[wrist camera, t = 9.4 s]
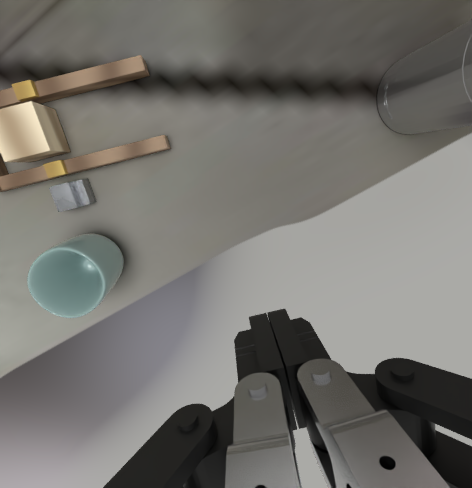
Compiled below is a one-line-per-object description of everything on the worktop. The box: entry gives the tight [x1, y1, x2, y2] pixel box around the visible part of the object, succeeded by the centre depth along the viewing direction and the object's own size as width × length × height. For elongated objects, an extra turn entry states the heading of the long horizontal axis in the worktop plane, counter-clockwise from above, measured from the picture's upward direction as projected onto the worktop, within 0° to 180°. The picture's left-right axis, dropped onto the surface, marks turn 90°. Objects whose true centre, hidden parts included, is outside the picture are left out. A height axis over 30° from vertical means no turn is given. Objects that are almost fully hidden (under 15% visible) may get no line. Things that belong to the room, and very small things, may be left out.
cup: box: [27, 233, 124, 318], centre depth 37 cm, size 8×8×10 cm
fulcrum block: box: [49, 179, 96, 212], centre depth 38 cm, size 4×3×4 cm
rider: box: [0, 101, 70, 162], centre depth 36 cm, size 5×5×5 cm
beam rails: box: [0, 55, 171, 192], centre depth 37 cm, size 22×10×3 cm, turn 104°
